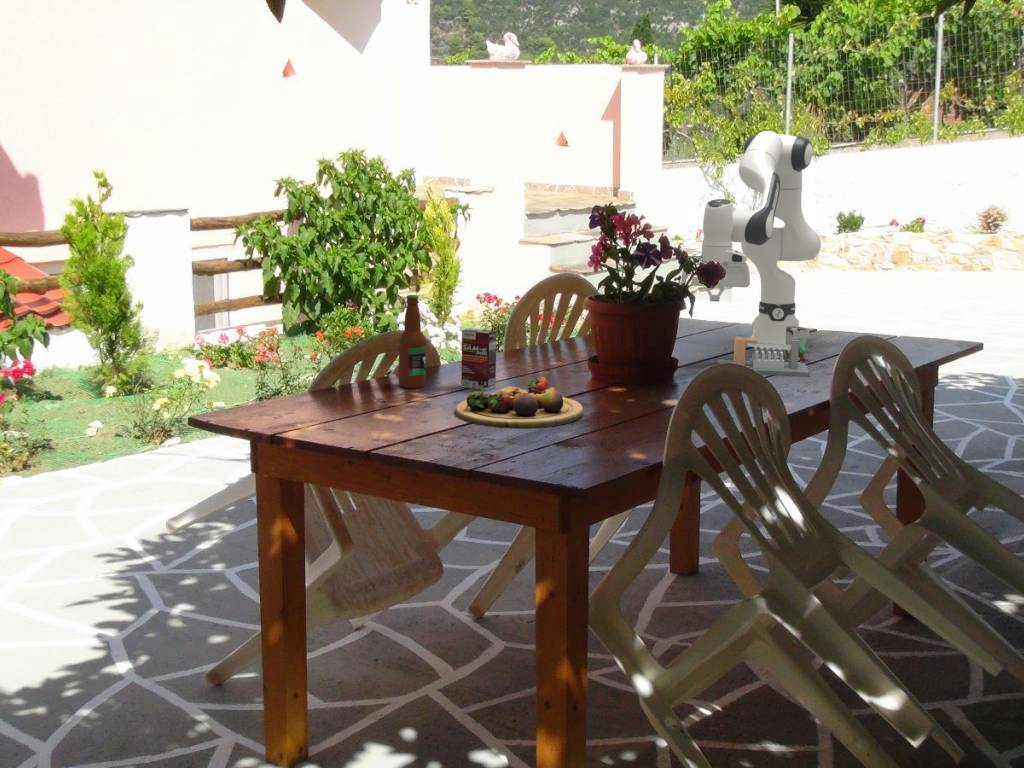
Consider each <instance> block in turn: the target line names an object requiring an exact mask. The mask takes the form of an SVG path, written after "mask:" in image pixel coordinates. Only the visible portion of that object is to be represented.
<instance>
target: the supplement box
mask: <svg viewBox="0 0 1024 768" xmlns="http://www.w3.org/2000/svg"><path fill="white" fill-rule="evenodd" d="M497 333H498V332H497V330H488V329H482V328H480V329H479V328H473V327H472V328H471V327H470V328H466V329H463V330H462V331H461V375H460V376H461V377H460V378H461V379H460V383H461V387H462V388H468V389H475V390H480V391H482V389H484V391H490V390H493V389H495V388H496V382H497V381H496V376H497V375H496V373H497V371H496V369H497V367H496V366H497V335H498V334H497ZM461 387H460V388H461Z"/></svg>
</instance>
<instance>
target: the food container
mask: <svg viewBox="0 0 1024 768" xmlns="http://www.w3.org/2000/svg"><path fill="white" fill-rule="evenodd" d="M809 337H810V331H809V329H808V328H806V327H804V326H803V327H802V326H799V327H796V326H786V345H790V340H791V338H798V340H799V351H798V362H800V361H804V362H805V357H806V349H807V343H808V342H807V341H808V338H809ZM784 350H785V349H784ZM789 356H790V350H785V353H784V357H786V358H787V359H789ZM786 358H785V359H786ZM787 359H786V360H787ZM800 363H801V362H800Z"/></svg>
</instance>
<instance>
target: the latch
mask: <svg viewBox="0 0 1024 768" xmlns="http://www.w3.org/2000/svg"><path fill="white" fill-rule="evenodd" d="M747 343H758V340H757V338H749V337H748V336H747V337H745V336H734V344H733V345H734V347H733V360H734V363H739V364H743V365H745V360H746V348H747V347H746V346H747V345H746V344H747Z"/></svg>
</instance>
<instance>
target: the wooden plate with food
mask: <svg viewBox="0 0 1024 768" xmlns="http://www.w3.org/2000/svg"><path fill="white" fill-rule="evenodd" d="M525 386H526V387H527V388H526V390H525V389H522V388H520V387H515V386H505V387H504V388H501V389H498V390H497V391H495V392H493V393H486V392H484V391H485V390H484V389H482V390H479V391H476V390H474V391H473V392H470V393H469V394H468V395H467V397H466V399H465V400H463V401H460V402H459V403H458V404H457V405H456V407H455V415H456V416H457V417H458V418H460V419H462V420H463V421H466V422H469V423H472V424H477V425H483V426H489V427H496V428H508V429H510V428H511V429H536V428H537V429H539V428H548V427H556V426H562V425H566V424H569V423H574V422H575V421H577V420H579V419H580V418H581V417H582V416H583V415H584V407H583V405H582V403H580V402H578V401H577V400H575V399H572V398H569V397H565V396H562V394H561V392H560V391H559V390H558V389H556V388H555V387H554V386H552V387H550V388H549V382H548V379H547V378H546V377H545V376H539V377H536V379H535V380H533V379H531V380H530V381H529V384H528V385H527V384H526V385H525ZM527 390H528V391H527Z"/></svg>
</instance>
